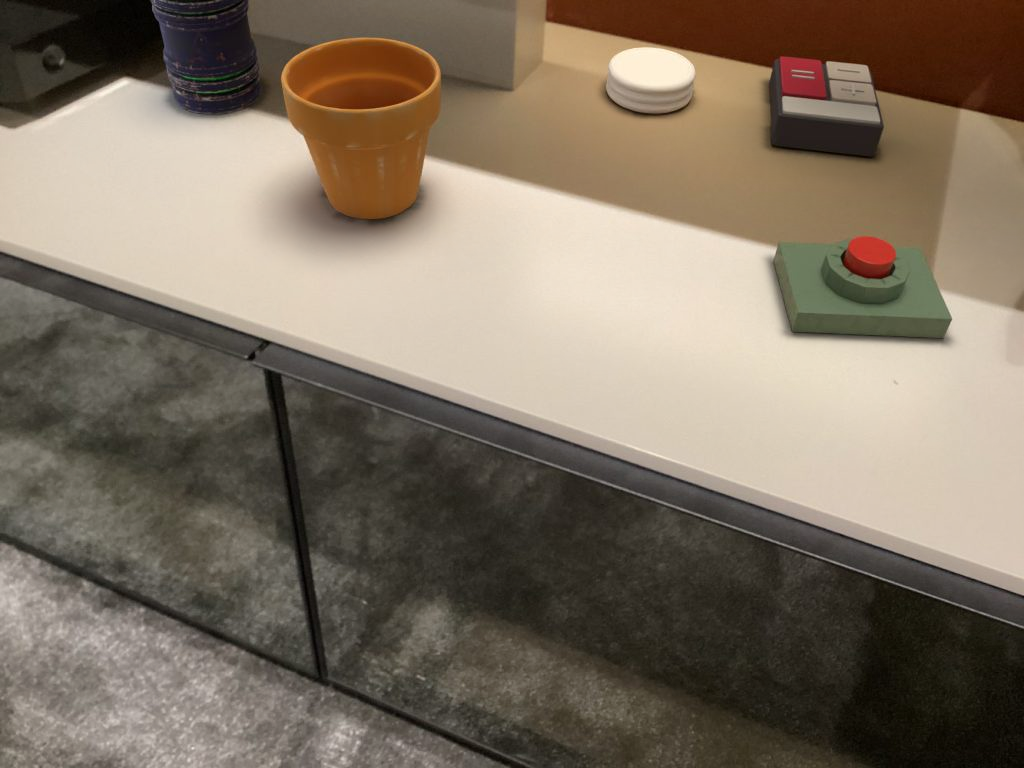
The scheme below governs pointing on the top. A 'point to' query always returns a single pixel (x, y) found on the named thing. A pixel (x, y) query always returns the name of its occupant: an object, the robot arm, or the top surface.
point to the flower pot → (365, 119)
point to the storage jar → (209, 54)
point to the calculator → (824, 107)
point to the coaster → (650, 80)
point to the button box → (859, 293)
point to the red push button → (869, 257)
